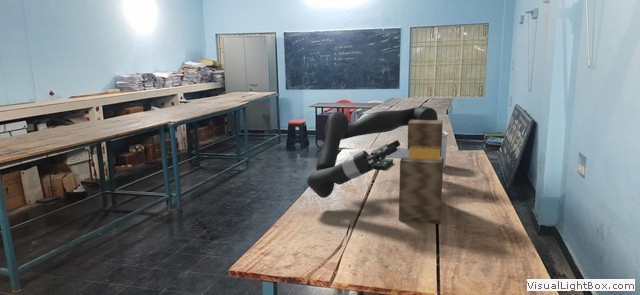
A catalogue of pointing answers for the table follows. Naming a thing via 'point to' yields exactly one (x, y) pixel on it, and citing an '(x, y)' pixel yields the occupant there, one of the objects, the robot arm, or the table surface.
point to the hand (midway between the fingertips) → (397, 144)
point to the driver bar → (417, 153)
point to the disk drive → (383, 164)
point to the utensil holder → (444, 146)
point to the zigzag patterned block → (422, 176)
